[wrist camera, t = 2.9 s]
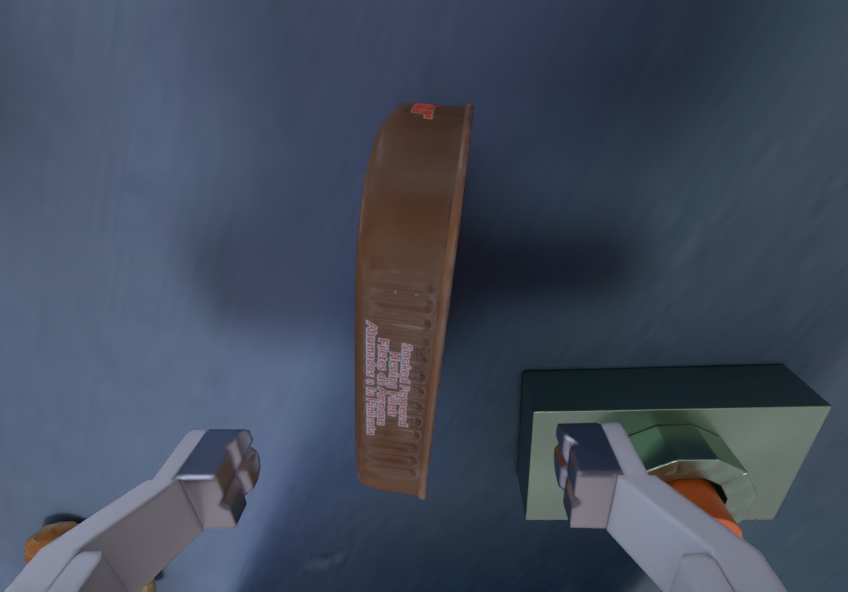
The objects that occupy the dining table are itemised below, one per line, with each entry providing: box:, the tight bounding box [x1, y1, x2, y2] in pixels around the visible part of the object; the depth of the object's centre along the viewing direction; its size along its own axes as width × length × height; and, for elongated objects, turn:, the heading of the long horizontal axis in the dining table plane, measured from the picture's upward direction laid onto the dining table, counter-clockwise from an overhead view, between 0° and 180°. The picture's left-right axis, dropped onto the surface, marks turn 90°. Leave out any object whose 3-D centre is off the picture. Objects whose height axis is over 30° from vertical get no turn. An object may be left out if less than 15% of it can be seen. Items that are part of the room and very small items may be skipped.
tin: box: [355, 103, 474, 499], centre depth 16 cm, size 15×3×8 cm, turn 175°
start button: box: [667, 479, 742, 538], centre depth 18 cm, size 3×3×2 cm
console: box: [518, 365, 832, 523], centre depth 21 cm, size 8×13×5 cm, turn 94°
